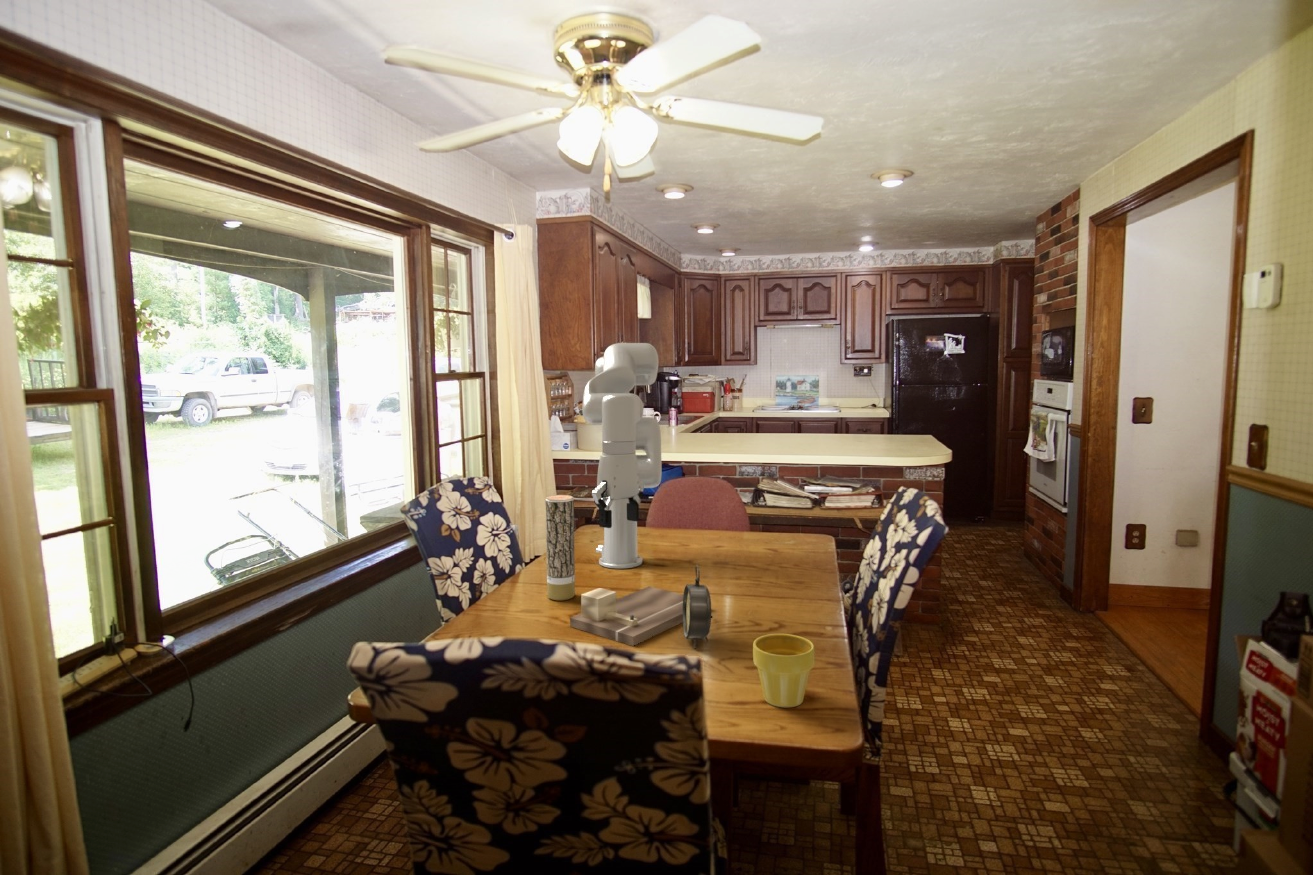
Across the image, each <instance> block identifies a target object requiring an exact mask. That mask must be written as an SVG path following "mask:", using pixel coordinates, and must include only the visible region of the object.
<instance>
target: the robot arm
mask: <svg viewBox="0 0 1313 875" xmlns="http://www.w3.org/2000/svg"><path fill="white" fill-rule="evenodd" d="M594 364H595V365H594V366H595V367H594V370H595V376H594V377H592V378H591V379H590V380H589V381H588V382H587V383H586V385H585V387H584V391H583V397H582V410H581V411H582V417H583V419H584V421H585V422H586V423H587V424H589V425H591V426H601V428H602V430H601V432H602V433H601V437H602V438H601V440H602V444H601V445H602V446H601V448H602V455H600V457H599V461H598V466H597V468H598V469H597V476H596V487H595V488H594V489H593V490H592V491H591V496H592V498H593V500H594V501H593V502H594V504H595V506H596V509H597V510H598V524H599V527H600V528H604V530H603V537H604V538H603V539H604V540H603V542H604V543H603V544H598V547H596V549H595V552H596V553H599V554H601V557H599V559H598V564H599V565H600V566H602V567H605V568H608V569H615V570H616V569H622V570H623V569H631V568H632V569H633V568H636V567H639V566H641V565H642V564H643V558H642V556H640V555H638V522H639V521H640V504H641V503H642V496H643V494H644V489H652V488H657V487H659V485H660V484H661V481H662V473H663V472H662V470H663V469H662V465H663V464H662V434H661V432H662V431H661V426H660V423H659V421H658V420H657V419H656V418H654V417H648V416H644V403H643V400H641V398H640V396H639V395H638V394H635V393H630V392H631V391H632V390H633V389H634V388H635V386H650V385H653V384H654V383H655V382H656V380H657V378H658V371H659V354H658V351H657V349H656V348H655V346H654V345H652V344H651V343H648V342H617V343H613V344H611V345H609V346H608V347H606V349H605V351H604V354H603V356H601V357H599V358H597V359H596V361H595V363H594ZM636 451H643V452H645V454H636Z"/></svg>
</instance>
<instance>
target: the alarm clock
mask: <svg viewBox="0 0 1313 875" xmlns="http://www.w3.org/2000/svg"><path fill="white" fill-rule="evenodd" d="M694 570H695V571H694V572H695V579H694V581H695V583H694V584H691V583H689V584H688V583H686V585H685V586H684V590H683V595H684V596H683V622H682V630H683V635H684V638H686V640H688V639H689V640H691V639H692V640H693V646H694V647H693V650H695V651H696V650H697V649H698V647H697V644H698V643H697V642H698V640H704V639H705V640H706V641H707V642H708V641H709V639H708V636H709V633H710V629H711V624H712V623H711V622H712V619H713V615H712V601H711V600H712V599H711V598H712V597H711V594H710V590H709V588H708V587H707V586H706V585H704V584H700V582H701V579H700V576H701V575H700V573H701V572H700V567H699V565H698V564H696V565H695V569H694Z"/></svg>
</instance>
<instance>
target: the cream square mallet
mask: <svg viewBox="0 0 1313 875" xmlns="http://www.w3.org/2000/svg"><path fill="white" fill-rule="evenodd" d="M580 597H581V598H580V603H581V604H580V608H581V609H580V614H581V617H584V618H588V619H591V620H595V621H601V620H603V619H607V620H610V621H614V622H617V623H621V624H624V625H628V626H631V627H633V626H635V625H637V624H638V619H636V618H634V615H630V617H629V616H625V615H622V614H618V613H616V599H617V591H614V590H610V589H605V588H601V587H598V588H595V589H592V590H590V591H588V592H587V591H586V592H584V593H581V594H580Z"/></svg>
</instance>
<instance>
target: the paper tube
mask: <svg viewBox="0 0 1313 875" xmlns="http://www.w3.org/2000/svg"><path fill="white" fill-rule="evenodd" d="M574 501H575V500H574V496H572V495H567V494H566V495H564V494H556V495H550V496H546V497H545V536H546V537H545V538H546V541H545V542H546V581H547V582H546V583H547V584H546V585H547V586H546V588H547V591H546V593H547V594H546V595H547V598H549V599H550V600H553V601H567V600H568V601H569V600H570V599H572V598H574V597H575V594H576V587H575V583H576V582H575V578H576V575H575V574H576V571H575V570H576V568H575V567H576V566H575V563H576V562H575V505H574Z"/></svg>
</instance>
